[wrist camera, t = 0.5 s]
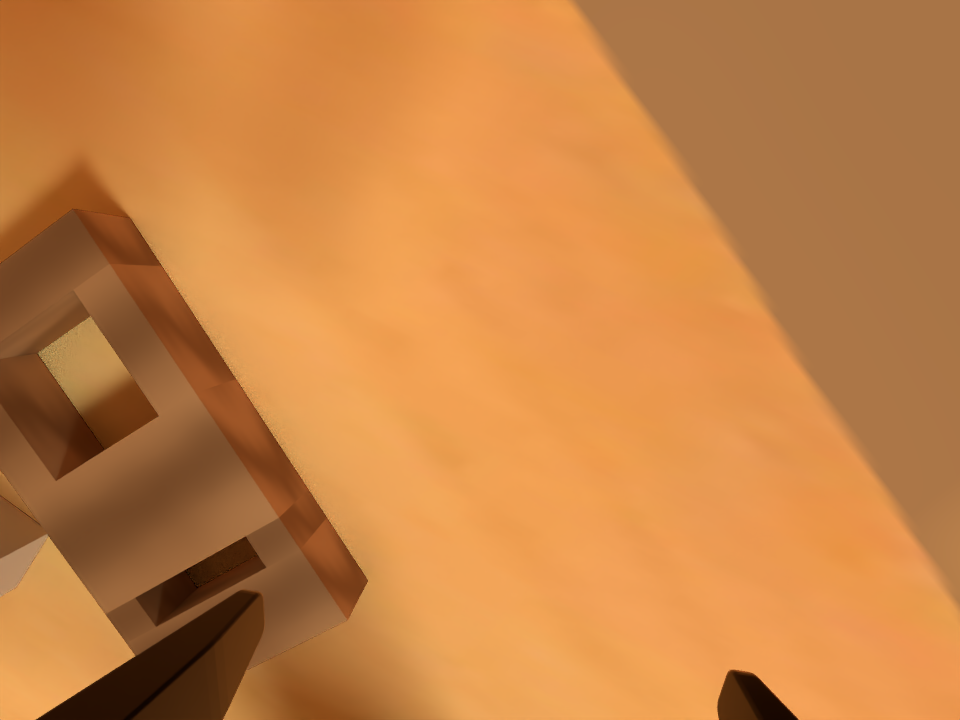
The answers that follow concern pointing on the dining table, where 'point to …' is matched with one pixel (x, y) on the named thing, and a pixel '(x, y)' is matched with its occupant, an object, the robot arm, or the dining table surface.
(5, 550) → the square bit
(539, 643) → the dining table surface
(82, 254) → the socket board
